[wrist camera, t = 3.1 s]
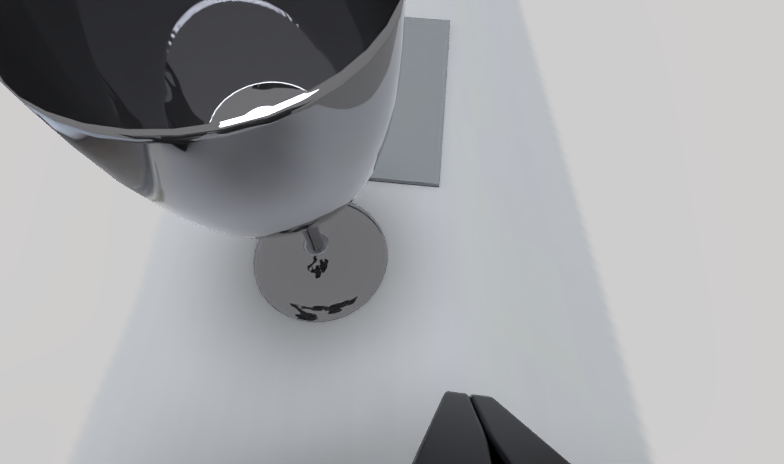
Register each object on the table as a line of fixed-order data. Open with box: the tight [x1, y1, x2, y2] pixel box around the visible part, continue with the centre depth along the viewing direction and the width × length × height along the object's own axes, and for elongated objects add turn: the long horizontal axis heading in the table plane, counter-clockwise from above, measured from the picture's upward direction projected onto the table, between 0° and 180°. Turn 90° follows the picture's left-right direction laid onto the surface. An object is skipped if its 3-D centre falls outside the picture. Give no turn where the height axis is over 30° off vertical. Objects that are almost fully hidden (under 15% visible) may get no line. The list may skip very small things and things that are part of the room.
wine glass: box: [0, 0, 406, 322], centre depth 14 cm, size 8×8×15 cm
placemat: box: [369, 17, 450, 187], centre depth 26 cm, size 14×12×1 cm
